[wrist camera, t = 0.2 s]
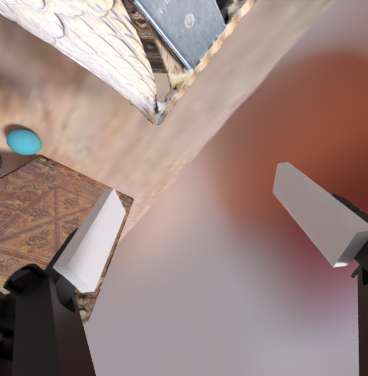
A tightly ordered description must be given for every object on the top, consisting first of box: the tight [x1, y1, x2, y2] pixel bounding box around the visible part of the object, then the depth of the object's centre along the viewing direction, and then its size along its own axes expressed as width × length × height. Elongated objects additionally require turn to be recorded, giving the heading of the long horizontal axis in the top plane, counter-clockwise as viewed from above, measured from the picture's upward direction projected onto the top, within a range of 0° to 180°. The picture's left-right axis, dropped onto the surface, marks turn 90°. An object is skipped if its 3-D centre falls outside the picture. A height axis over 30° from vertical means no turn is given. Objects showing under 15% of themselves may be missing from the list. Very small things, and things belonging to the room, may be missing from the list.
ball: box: [7, 129, 42, 155], centre depth 35 cm, size 6×6×6 cm
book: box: [0, 156, 134, 324], centre depth 34 cm, size 25×9×30 cm, turn 55°
